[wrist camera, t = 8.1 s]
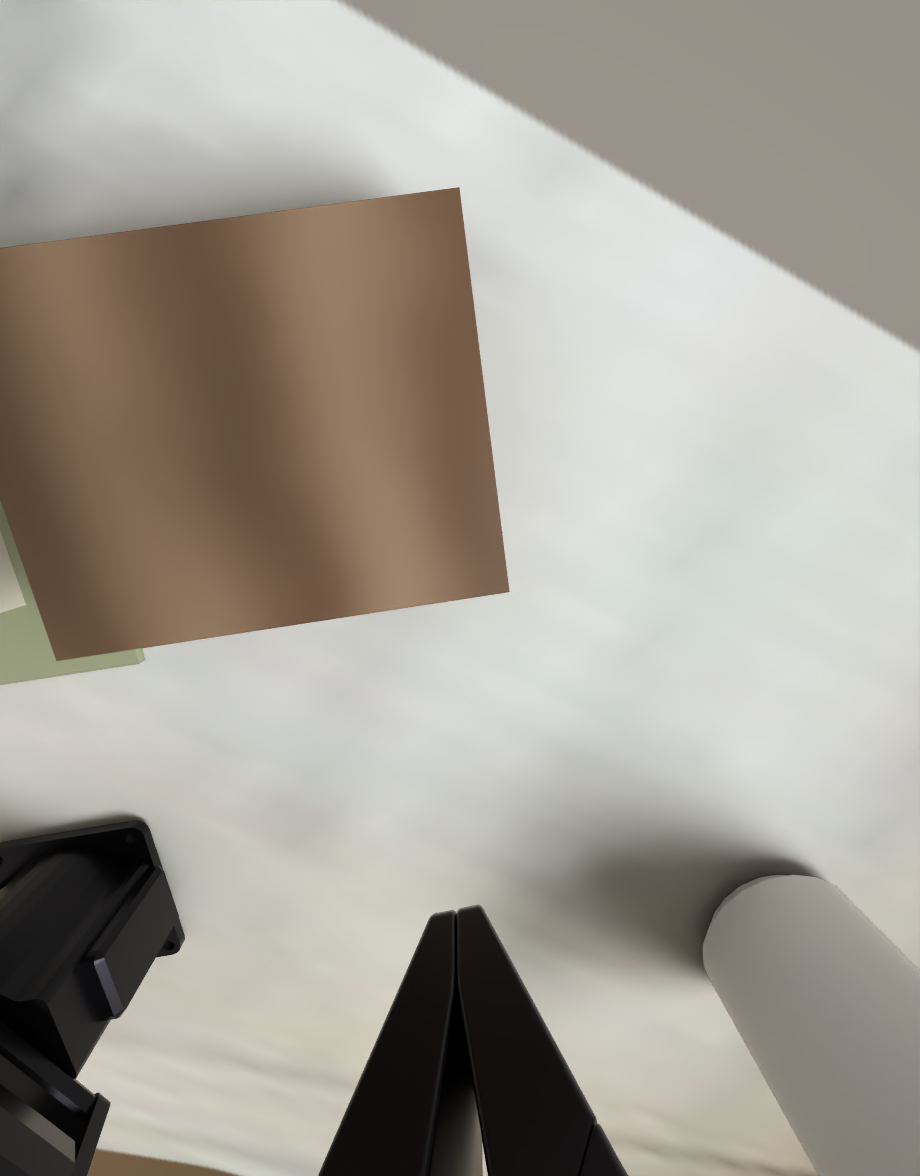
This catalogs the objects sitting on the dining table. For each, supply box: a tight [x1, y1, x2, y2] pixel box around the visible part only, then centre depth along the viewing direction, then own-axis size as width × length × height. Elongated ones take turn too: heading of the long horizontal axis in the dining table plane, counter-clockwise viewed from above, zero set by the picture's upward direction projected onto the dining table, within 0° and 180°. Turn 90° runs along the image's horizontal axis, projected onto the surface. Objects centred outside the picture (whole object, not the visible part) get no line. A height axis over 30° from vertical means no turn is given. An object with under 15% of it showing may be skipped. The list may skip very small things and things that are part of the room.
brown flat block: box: [0, 187, 509, 661], centre depth 16 cm, size 14×11×4 cm
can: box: [703, 874, 920, 1176], centre depth 18 cm, size 8×8×12 cm
